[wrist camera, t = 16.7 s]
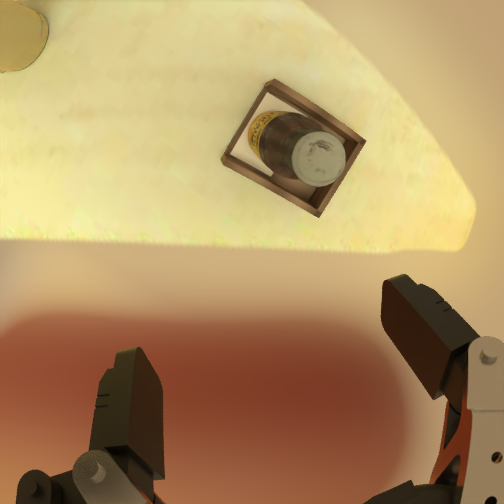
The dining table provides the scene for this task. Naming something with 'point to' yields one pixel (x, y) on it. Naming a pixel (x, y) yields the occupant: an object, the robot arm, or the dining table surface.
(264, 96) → the box
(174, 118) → the dining table surface
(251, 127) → the sauce bottle
